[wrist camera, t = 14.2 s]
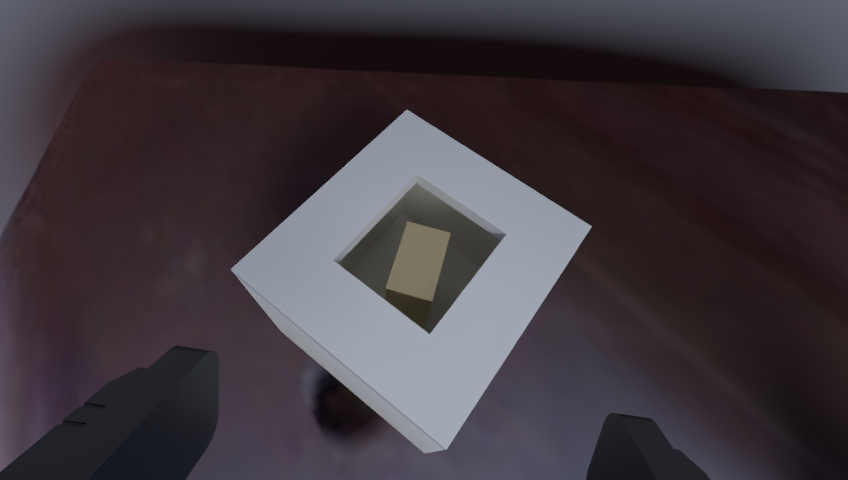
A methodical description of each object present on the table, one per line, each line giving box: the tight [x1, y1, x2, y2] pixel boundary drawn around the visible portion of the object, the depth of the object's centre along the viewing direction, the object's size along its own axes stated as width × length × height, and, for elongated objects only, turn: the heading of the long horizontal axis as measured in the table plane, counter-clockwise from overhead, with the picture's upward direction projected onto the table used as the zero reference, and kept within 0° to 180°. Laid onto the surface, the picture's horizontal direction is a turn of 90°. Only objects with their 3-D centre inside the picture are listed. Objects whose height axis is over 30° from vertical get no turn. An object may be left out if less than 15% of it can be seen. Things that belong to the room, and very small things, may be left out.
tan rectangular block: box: [385, 221, 451, 330], centre depth 32 cm, size 3×5×10 cm, turn 165°
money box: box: [231, 110, 592, 453], centre depth 31 cm, size 15×16×13 cm
